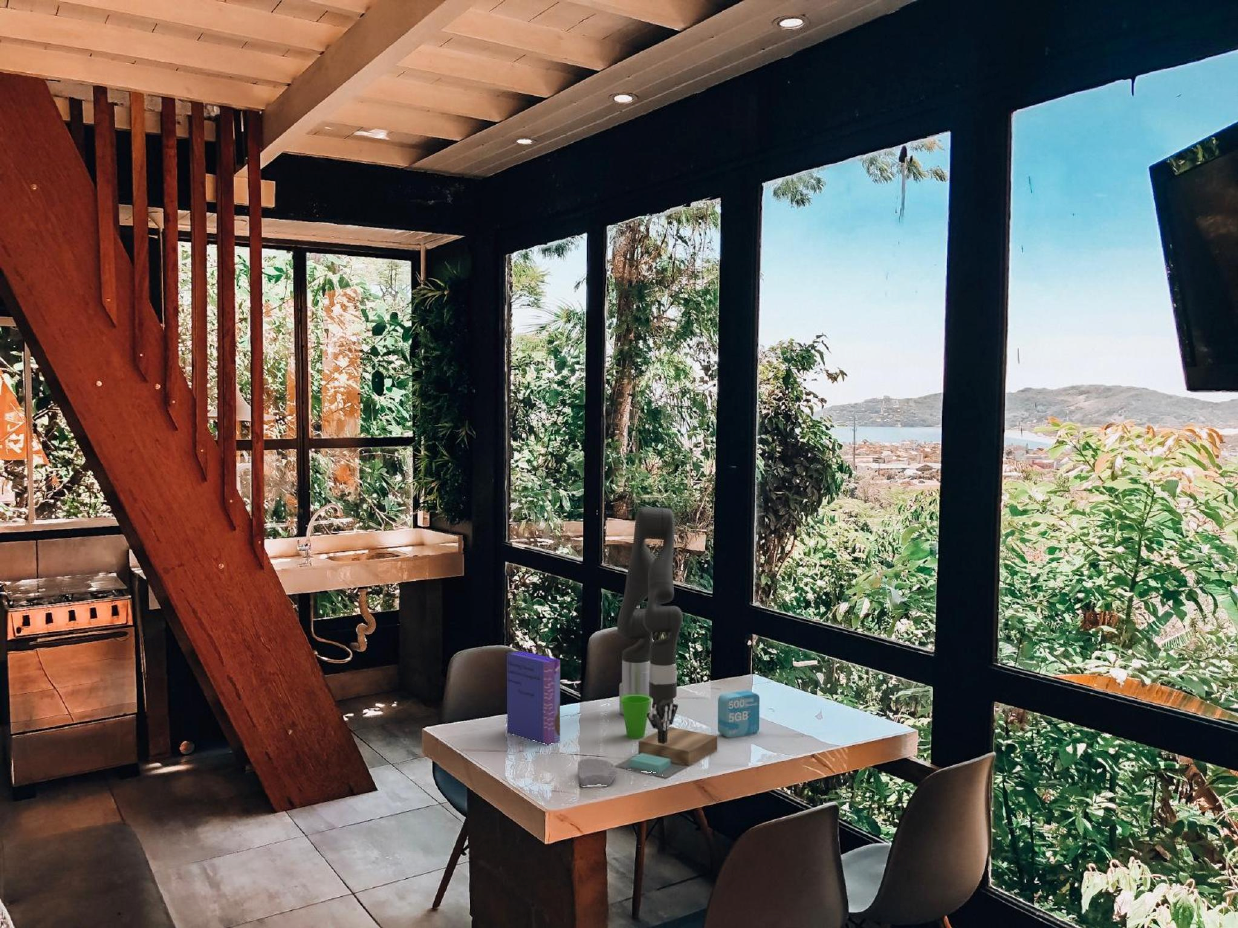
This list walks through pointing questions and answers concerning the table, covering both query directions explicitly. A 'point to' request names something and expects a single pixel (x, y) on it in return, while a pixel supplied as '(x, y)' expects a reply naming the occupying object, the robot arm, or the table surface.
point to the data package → (738, 713)
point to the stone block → (595, 772)
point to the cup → (635, 714)
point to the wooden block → (679, 746)
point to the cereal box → (533, 696)
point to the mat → (665, 773)
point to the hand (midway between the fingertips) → (662, 742)
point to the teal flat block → (650, 763)
